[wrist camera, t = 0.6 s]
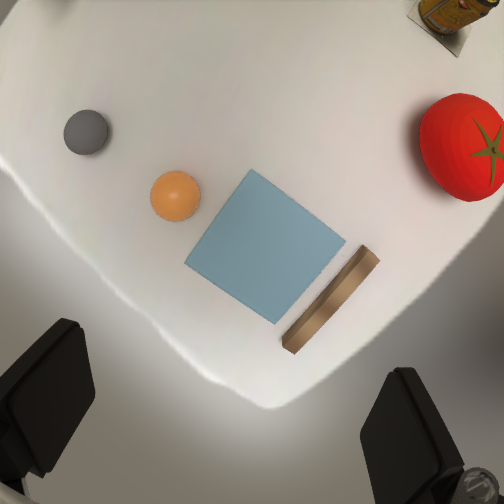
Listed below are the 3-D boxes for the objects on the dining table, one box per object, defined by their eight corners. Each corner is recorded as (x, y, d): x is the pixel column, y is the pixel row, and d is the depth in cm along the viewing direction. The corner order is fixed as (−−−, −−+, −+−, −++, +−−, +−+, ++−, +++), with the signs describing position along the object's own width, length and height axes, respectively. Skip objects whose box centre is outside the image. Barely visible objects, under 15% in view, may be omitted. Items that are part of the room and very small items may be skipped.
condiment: (425, -13, 26) (465, -49, 15) (471, 27, 27) (521, 3, 16) (406, 16, 28) (449, -20, 17) (456, 58, 29) (510, 37, 18)
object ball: (175, 160, 36) (160, 162, 30) (213, 187, 36) (204, 193, 31) (151, 198, 37) (133, 206, 32) (187, 224, 38) (175, 236, 33)
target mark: (251, 168, 35) (251, 169, 35) (345, 241, 37) (346, 241, 37) (184, 262, 39) (184, 263, 39) (274, 323, 41) (274, 324, 41)
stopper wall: (362, 244, 37) (368, 250, 35) (373, 253, 38) (380, 260, 35) (281, 336, 42) (282, 347, 39) (293, 343, 42) (294, 354, 40)
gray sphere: (92, 104, 34) (69, 100, 28) (122, 124, 34) (101, 121, 29) (72, 141, 35) (48, 141, 30) (101, 162, 36) (78, 164, 31)
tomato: (439, 209, 35) (486, 230, 25) (388, 129, 33) (429, 123, 23) (491, 162, 33) (541, 170, 23) (446, 84, 30) (494, 70, 20)
